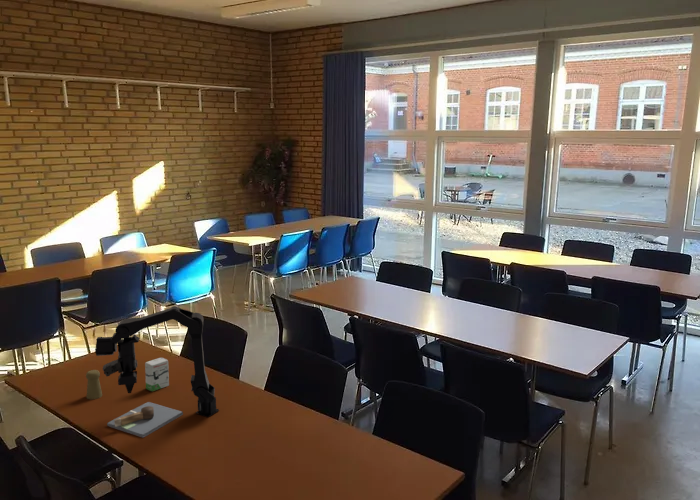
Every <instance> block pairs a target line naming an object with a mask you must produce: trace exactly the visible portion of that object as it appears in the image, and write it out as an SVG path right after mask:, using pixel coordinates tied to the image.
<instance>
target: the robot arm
mask: <svg viewBox="0 0 700 500" xmlns="http://www.w3.org/2000/svg"><path fill="white" fill-rule="evenodd" d="M171 320H172V321H173V320H174V321H176V323H179V324H181V325H182V326H184V327H186V328H187V331H188V333H189V337H190V339H191V345H192V356H193V366H194V375H193V374H191V376H190V385H191V390H190V391H191V392H193V395H194V397H197V398H198V399H197V411H195V414H196V415H199V416H201V417H202V416H204V417H206V418H209V417H211V416H213V415H214V414H216V413H218V412H219V411H220V410H219V408H217V397H216V396H215V393H216V392H215V391H216V389H215V387H214V386H213V385H212V384H210V381H209V377H208V375H207V371H206V369H205V357H204V347H203V346H204V345H203V328H204V316H203V315H202V314H201V313H199V312H192V311H190V310H188V309H184V308H180V307H178V306H175V305H174V306H171V307H170V308H166V309H163V310H161V311H157V312H154V313H151V314H148V315H145V316H142V317H130V318H129V317H128V318H125V319H121V320H120V321H119V322H118V324H117V326H116V327H115V331H114V333H113V334H112V336H104V337H103V336H97V337H96V339H95V341H96V342H95V349H94V351H95V355H96V356H97V357H99V356H101V357H102V356H114V354H115V353H116V352H118V354H117V355H118V356H117V358H116V359H114V360H112V361H110V362H107V363H105V364H104V365H102V371H103V374H104V375H105V376H106V377H110V376H111V375H113V374H115V373H118V374H119V376H117V377H118V378H117V384H118V386H125V388H126V392H127V393H128V394H131V393H132V391H133V389H134V386H135V384H137V383H138V382H137V381H138V378H137V377H138V375H137V374H138V370H137V368H138V360H137V359H136V347H135V343H136V344H137V343H139V341H140V340H141V339H140V337H139V336H138V335H136V334H137V333H139V332H140V331H142V330H144V329H147V328H150V327H153V326H156V325H159V324H162V323H166V322H169V321H171Z"/></svg>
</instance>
